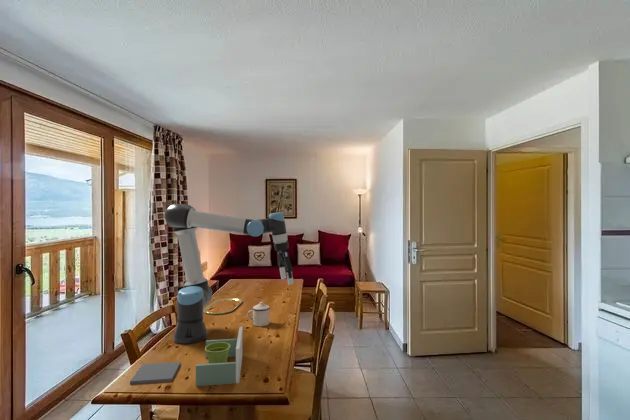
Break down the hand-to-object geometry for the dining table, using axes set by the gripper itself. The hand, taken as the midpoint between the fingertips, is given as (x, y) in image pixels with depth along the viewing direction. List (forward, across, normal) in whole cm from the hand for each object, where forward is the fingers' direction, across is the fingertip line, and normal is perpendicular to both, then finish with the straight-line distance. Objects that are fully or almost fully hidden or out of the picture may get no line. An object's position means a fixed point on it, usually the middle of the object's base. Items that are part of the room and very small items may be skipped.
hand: (287, 281), depth 186 cm
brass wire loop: (+20, +50, +31) cm, 62 cm away
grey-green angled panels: (+16, -40, +41) cm, 60 cm away
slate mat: (+12, -36, +64) cm, 74 cm away
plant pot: (+16, -40, +42) cm, 61 cm away
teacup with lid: (+21, +8, +17) cm, 28 cm away
